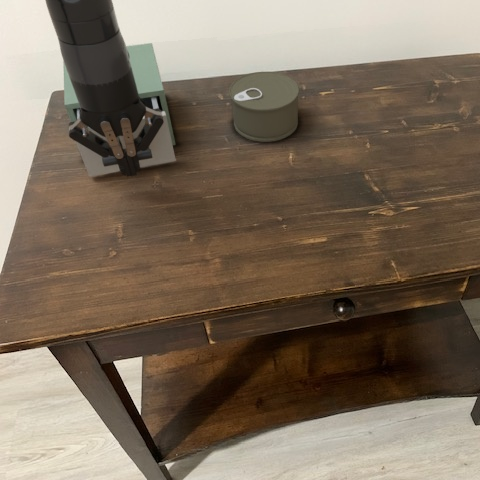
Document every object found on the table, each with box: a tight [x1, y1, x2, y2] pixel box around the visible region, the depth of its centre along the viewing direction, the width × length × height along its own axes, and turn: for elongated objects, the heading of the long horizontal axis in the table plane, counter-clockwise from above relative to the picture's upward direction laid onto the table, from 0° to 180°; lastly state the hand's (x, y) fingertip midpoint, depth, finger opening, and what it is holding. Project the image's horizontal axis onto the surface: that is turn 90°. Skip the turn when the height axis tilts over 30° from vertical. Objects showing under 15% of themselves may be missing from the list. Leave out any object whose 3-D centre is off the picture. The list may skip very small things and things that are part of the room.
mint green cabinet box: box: [62, 42, 176, 146], centre depth 91 cm, size 16×15×11 cm
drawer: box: [75, 96, 177, 177], centre depth 86 cm, size 20×14×9 cm
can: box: [228, 71, 300, 143], centre depth 94 cm, size 12×12×7 cm
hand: (131, 172), depth 79 cm, fingers closed
